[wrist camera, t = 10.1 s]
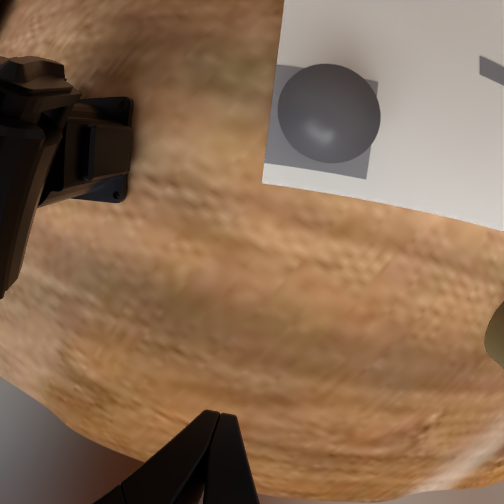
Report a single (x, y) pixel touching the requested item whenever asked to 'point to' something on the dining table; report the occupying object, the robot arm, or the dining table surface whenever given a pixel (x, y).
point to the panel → (405, 102)
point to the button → (329, 113)
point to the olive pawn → (496, 336)
